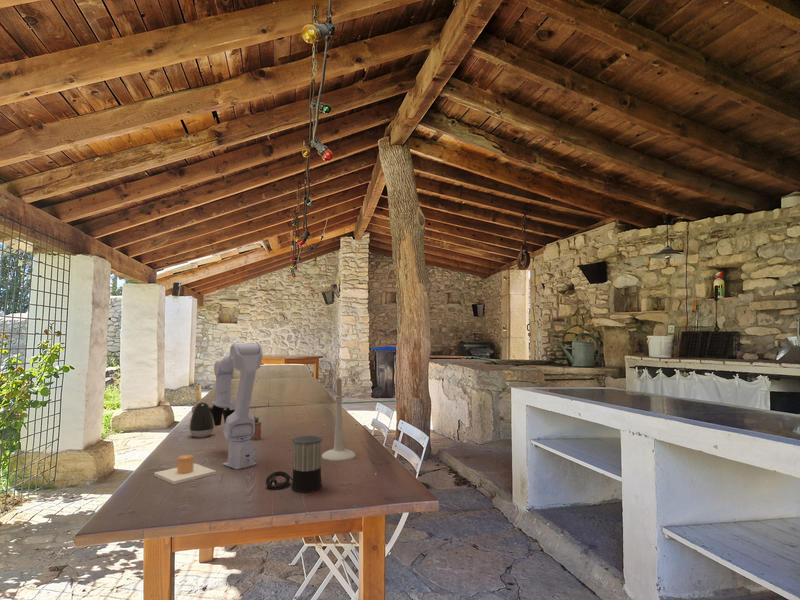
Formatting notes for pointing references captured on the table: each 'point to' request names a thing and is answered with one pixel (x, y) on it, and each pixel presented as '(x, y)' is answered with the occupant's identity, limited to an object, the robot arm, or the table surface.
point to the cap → (185, 464)
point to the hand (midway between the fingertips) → (222, 426)
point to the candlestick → (338, 433)
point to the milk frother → (302, 466)
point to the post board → (177, 478)
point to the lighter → (257, 430)
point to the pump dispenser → (201, 421)
